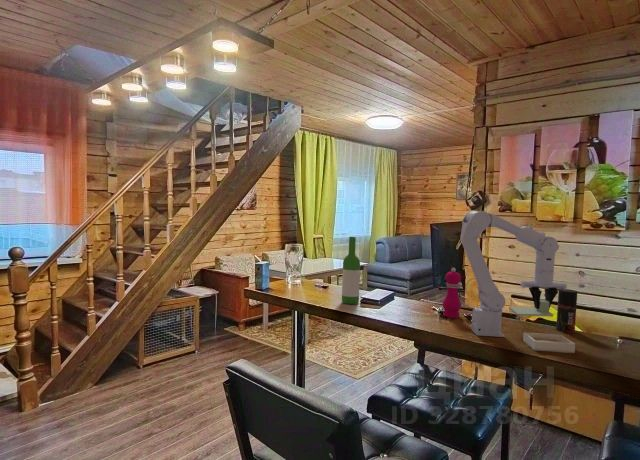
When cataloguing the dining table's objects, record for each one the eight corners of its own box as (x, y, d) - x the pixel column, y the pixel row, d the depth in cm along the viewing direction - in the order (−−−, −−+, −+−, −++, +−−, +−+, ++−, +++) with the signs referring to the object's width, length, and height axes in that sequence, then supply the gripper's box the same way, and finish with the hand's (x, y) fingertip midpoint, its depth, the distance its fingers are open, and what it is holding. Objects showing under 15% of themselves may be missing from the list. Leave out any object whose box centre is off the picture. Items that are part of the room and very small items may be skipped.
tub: (534, 350, 127) (534, 341, 126) (523, 341, 136) (523, 332, 135) (574, 353, 125) (575, 343, 125) (560, 343, 134) (561, 334, 134)
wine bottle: (338, 302, 183) (340, 236, 182) (350, 300, 188) (353, 236, 186) (349, 305, 177) (351, 237, 175) (362, 303, 182) (364, 237, 180)
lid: (517, 315, 138) (517, 303, 138) (508, 308, 147) (509, 297, 146) (553, 316, 137) (553, 304, 136) (542, 309, 145) (542, 297, 145)
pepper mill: (461, 319, 161) (464, 269, 159) (442, 317, 162) (445, 268, 161) (459, 314, 168) (461, 267, 167) (441, 313, 169) (443, 266, 168)
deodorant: (566, 333, 146) (568, 292, 145) (552, 328, 152) (554, 289, 151) (578, 332, 148) (581, 292, 147) (564, 327, 153) (567, 288, 152)
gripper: (527, 271, 138) (524, 310, 138) (572, 273, 136) (569, 312, 137) (519, 268, 145) (517, 305, 145) (562, 269, 143) (559, 307, 144)
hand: (541, 308), depth 141 cm, fingers closed on lid, 3 cm apart
